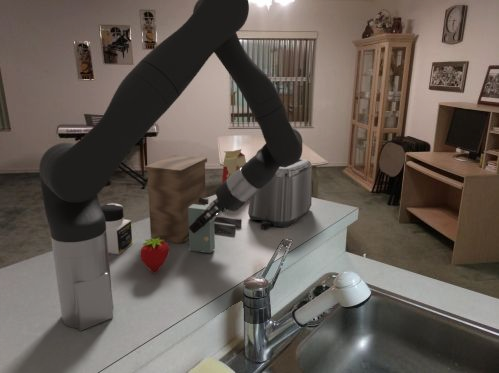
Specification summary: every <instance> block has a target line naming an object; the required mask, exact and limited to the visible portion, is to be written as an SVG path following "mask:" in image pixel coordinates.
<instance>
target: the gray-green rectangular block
mask: <svg viewBox="0 0 499 373" xmlns="http://www.w3.org/2000/svg"><path fill="white" fill-rule="evenodd" d="M208 206H209V205H206V204H205V205H197V204H193V205H191V206H190V207H188V219H189V227H190V226H191V225H192V224H193V223H194V222H195V221H196V219H197V218H198V217H199V216H200V215H201V214H202V212H203V211H204V210H205V209H206V208H207V207H208ZM210 208H211V207H210ZM210 208H209V209H210ZM209 209H208V210H209ZM213 217H214V216H213ZM188 239H189V240H188V241H189V250H190V251H194V252H201V253H207V254H208V253H209V254H211V253H212V252H213V251H214V250H215V249H216V248H215V247H216V245H215V243H216V241H215V231H214V220H213V221H212V222H207V223H206V225H205V226H204V227H201V228H200V229H199V230H198V231H197V232H195V233H193V232H192V231H191V230H190V229H189V238H188Z"/></svg>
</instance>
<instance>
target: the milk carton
mask: <svg viewBox="0 0 499 373" xmlns="http://www.w3.org/2000/svg"><path fill="white" fill-rule="evenodd" d="M223 152H224V153H225V154H224V158H223V166H222V175H221V176H222V177H221V184H222V183H223V182H224V181H225V180H227V179H228V178H229V177H230V176H231V175H232V174H233V173H234V172H236V171H237V170H238V169H240V168H241V167H242V166H243V165H244V164H246V163H247V161H246V160H247V159H246V155H245V154H244V153H242V148H241V149H236V150H225V151H223Z"/></svg>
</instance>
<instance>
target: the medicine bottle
mask: <svg viewBox="0 0 499 373" xmlns="http://www.w3.org/2000/svg"><path fill="white" fill-rule="evenodd" d="M100 206H101V209H102V211H103V213H104V216H105V221H106V233H107V245H108V254H110V255H111V254H112V255H121V254H122V253H123V252H124V251H125V250H126V249H128V248H129V247H130V246H132V244H133V234H132V231H133V230H132V220H131V219H125V217H124V207H123V205H122V204H118V203H107V204H104V205H100Z"/></svg>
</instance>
